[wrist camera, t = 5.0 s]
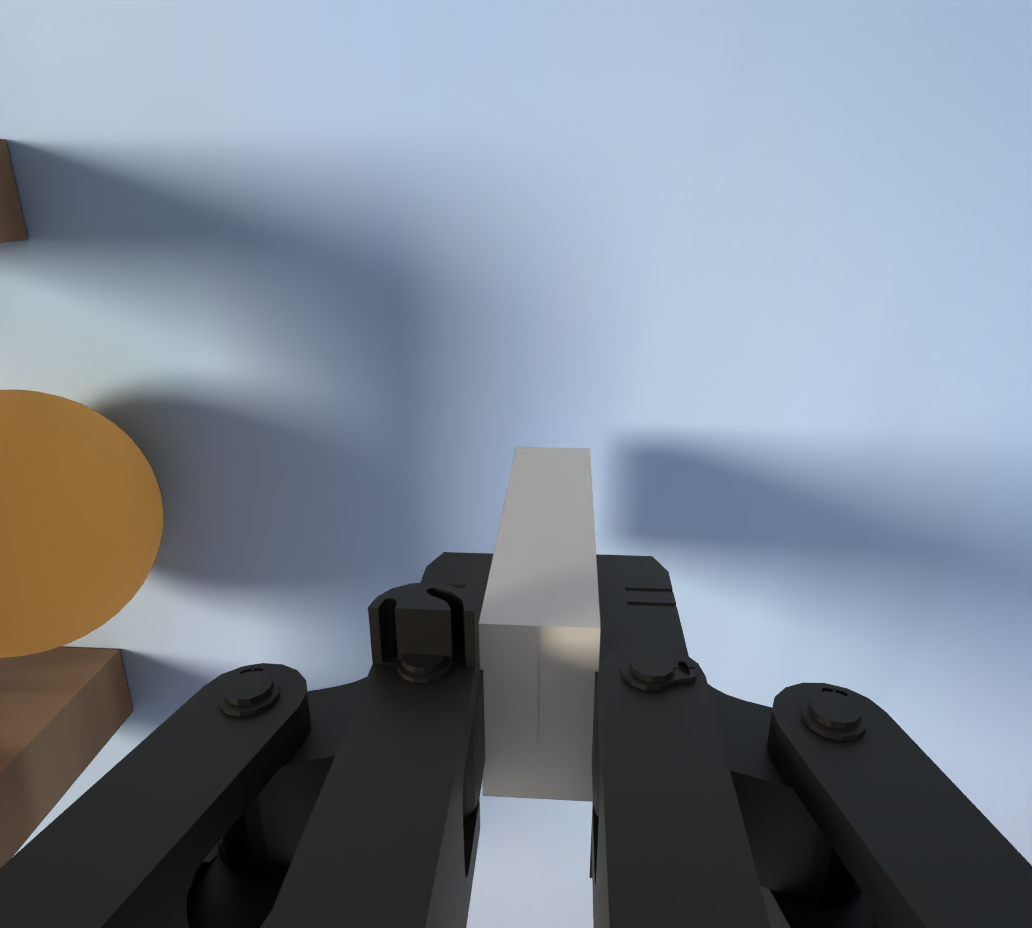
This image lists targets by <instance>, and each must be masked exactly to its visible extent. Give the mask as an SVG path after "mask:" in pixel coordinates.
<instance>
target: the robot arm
mask: <svg viewBox="0 0 1032 928" xmlns="http://www.w3.org/2000/svg"><path fill="white" fill-rule="evenodd" d="M368 612H369V624H370V636H371V648H372V660H373V664H372V667H371V669H370V672H369V674H368V677H366V678H363V679H361V680H358V681H356V682H353V683H349V684H345V685H341V686H336V687H331V688H325V689H319V690H313V691H307V684H306V680H305V679H304V677H303V676H302V675H301V674H300V673H299V672H298V671H297V670H295V669H292V668H290V667H287V666H285V665H281V664H266V663H262V664H254V665H248V666H243V667H240V668H237V669H235V670H232V671H229V672H227V673H224V674H221V675H220V676H218V677H217V678H215V679H214V680H213V681H211V682H210V683H208V684H207V685H205V686H204V687H203V688H202V689H200V690H199V691H198V692H197V693H196V694H195V695H194V696H193V697H191V698H190V699H189V700H188V701H187V702H186V703H185V704H184V705H183V706H181V707H180V708H179V709H178V710H177V711H176V712H175V713H174V714H172V715H171V716H170V717H169V718H168V719H167V720H166V721H165V722H164V723H162V724H161V725H160V726H159V727H158V728H157V729H156V730H155V731H153V732H152V733H151V734H150V735H149V736H148V737H147V738H146V739H144V740H143V741H142V742H141V743H140V744H139V745H138V746H137V747H136V748H134V749H133V750H132V751H131V752H130V753H129V754H128V755H127V756H125V757H124V758H123V759H122V760H121V761H120V762H119V763H118V764H116V765H115V766H114V767H113V768H112V769H111V770H110V771H109V772H108V773H106V774H105V775H104V776H103V777H102V778H101V779H100V780H99V781H97V782H96V783H95V784H94V785H93V786H92V787H91V788H90V789H89V790H87V791H86V792H85V793H84V794H83V795H82V796H81V797H80V798H78V799H77V800H76V801H75V802H74V803H73V804H72V805H71V806H69V807H68V808H67V809H66V810H65V811H64V812H63V813H62V814H61V815H59V816H58V817H57V818H56V819H55V820H54V821H53V822H52V823H50V824H49V825H48V826H47V827H46V828H45V829H44V830H43V831H41V832H40V833H39V834H38V835H37V836H36V837H35V838H34V839H33V840H31V841H30V842H29V843H28V844H27V845H26V846H25V847H24V848H22V849H21V850H20V851H19V852H18V853H17V854H16V855H15V856H14V857H12V858H11V859H10V860H9V861H8V862H7V863H6V864H5V865H3V866H2V867H1V868H0V928H466V925H467V918H468V911H469V903H470V896H471V889H472V882H473V875H474V868H475V861H476V854H477V847H478V839H479V832H480V803H479V797H480V790H481V784H482V777H483V796H497V797H516V798H536V799H555V800H574V801H593V809H592V833H591V857H590V878H593V918H594V928H1032V866H1031V864H1030V863H1029V862H1028V861H1027V860H1026V859H1025V858H1024V857H1023V856H1022V855H1021V854H1020V853H1019V852H1018V851H1017V850H1016V849H1015V848H1014V847H1013V845H1012V844H1011V843H1010V842H1009V841H1008V840H1007V839H1006V838H1005V837H1004V836H1003V835H1002V834H1001V833H1000V832H999V831H998V830H997V829H996V828H995V827H994V825H993V824H992V823H991V822H990V821H989V820H988V819H987V818H986V817H985V816H984V815H983V814H982V813H981V812H980V811H979V810H978V809H977V808H976V806H975V805H974V804H973V803H972V802H971V801H970V800H969V799H968V798H967V797H966V796H965V795H964V794H963V793H962V792H961V791H960V790H959V789H958V787H957V786H956V785H955V784H954V783H953V782H952V781H951V780H950V779H949V778H948V777H947V776H946V775H945V774H944V773H943V772H942V771H941V770H940V768H939V767H938V766H937V765H936V764H935V763H934V762H933V761H932V760H931V759H930V758H929V757H928V756H927V755H926V754H925V753H924V752H923V751H922V749H921V748H920V747H919V746H918V745H917V744H916V743H915V742H914V741H913V740H912V739H911V738H910V737H909V736H908V735H907V734H906V733H905V732H904V731H903V729H902V728H901V727H900V726H899V725H898V724H897V723H896V722H895V721H894V720H893V719H892V718H891V717H890V716H889V715H888V714H887V713H886V712H885V711H884V710H883V709H881V708H880V707H879V706H878V705H876V704H875V703H874V702H873V701H871V700H870V699H869V698H867V697H864V696H862V695H860V694H858V693H856V692H854V691H852V690H849V689H847V688H843V687H839V686H834V685H830V684H826V683H800V684H797V685H793V686H790V687H786V688H785V689H783V690H782V691H781V692H780V693H779V694H778V695H777V696H775V698H774V703H773V708H771V707H767V706H763V705H759V704H755V703H751V702H748V701H744V700H741V699H738V698H735V697H732V696H729V695H726V694H724V693H722V692H721V691H719V690H717V689H715V688H713V687H712V686H710V685H709V684H707V680H706V676H705V675H704V673H703V671H702V669H701V668H700V666H699V664H698V663H696V662H695V661H694V660H693V659H691V658H690V657H689V656H688V652H687V647H686V643H685V639H684V635H683V631H682V627H681V623H680V618H679V614H678V610H677V607H676V602H675V598H674V593H673V592H672V585H671V581H670V577H669V573H668V571H667V570H666V569H665V568H664V567H663V566H662V565H661V564H660V563H659V562H658V561H657V560H656V559H654V558H653V557H652V556H626V555H596V544H595V528H594V511H593V494H592V477H591V460H590V449H579V448H530V447H516V451H515V456H514V461H513V465H512V470H511V475H510V479H509V484H508V489H507V493H506V498H505V503H504V508H503V512H502V517H501V522H500V526H499V531H498V536H497V540H496V545H495V550H494V554H485V553H452V552H444V553H443V554H441V555H440V556H439V557H438V558H436V559H435V560H434V561H433V562H432V563H430V564H429V565H428V566H427V567H426V570H425V572H424V575H423V577H422V580H421V583H414V584H408V585H404V586H400V587H396V588H393V589H391V590H389V591H387V592H385V593H383V594H381V595H380V596H378V597H377V598H376V599H375V600H374V601H373V602H372V603H371V605H370V606H369V607H368Z"/></svg>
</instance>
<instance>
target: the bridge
mask: <svg viewBox="0 0 1032 928" xmlns="http://www.w3.org/2000/svg"><path fill="white" fill-rule="evenodd" d="M19 240H28V236H27V232H26V227H25V223H24V219H23V214H22V210H21V205H20V201H19V196H18V192H17V187H16V183H15V178H14V174H13V169H12V165H11V160H10V156H9V151H8V147H7V142H6V139H0V243H1V242H10V241H19ZM132 712H133V707H132V703H131V698H130V694H129V689H128V685H127V680H126V676H125V671H124V667H123V663H122V658H121V654H120V649H97V648H72V647H57V648H54V649H51V650H47V651H44V652H40V653H35V654H30V655H25V656H17V657H4V658H0V868H1V867H2V866H3V865H5V864H6V863H7V862H8V861H9V860H10V859H11V858H12V857H13V856H14V854H15V853H16V852H17V851H18V850H19V848H20V847H21V846H22V845H23V844H24V842H25V841H26V840H27V839H28V838H29V836H30V835H31V834H32V833H33V832H34V830H35V829H36V828H37V827H38V825H39V824H40V823H41V822H42V821H43V819H44V818H45V817H46V816H47V815H48V813H49V812H50V811H51V810H52V809H53V807H54V806H55V805H56V804H57V803H58V801H59V800H60V799H61V798H62V796H63V795H64V794H65V793H66V792H67V790H68V789H69V788H70V787H71V786H72V784H73V783H74V782H75V781H76V780H77V778H78V777H79V776H80V775H81V774H82V772H83V771H84V770H85V769H86V767H87V766H88V765H89V764H90V763H91V761H92V760H93V759H94V758H95V757H96V755H97V754H98V753H99V752H100V751H101V749H102V748H103V747H104V746H105V745H106V743H107V742H108V741H109V740H110V738H111V737H112V736H113V735H114V734H115V732H116V731H117V730H118V729H119V728H120V726H121V725H122V724H123V723H124V722H125V720H126V719H127V718H128V717H129V716H130V714H131V713H132Z"/></svg>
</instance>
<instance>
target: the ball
mask: <svg viewBox="0 0 1032 928" xmlns="http://www.w3.org/2000/svg"><path fill="white" fill-rule="evenodd" d="M162 532H163V504H162V498H161V492H160V488H159V485H158V482H157V480H156V477H155V475H154V472H153V470H152V468H151V466H150V464H149V462H148V461H147V459H146V457H145V456H144V454H143V453H142V451H141V450H140V449H139V447H138V446H137V445H136V444H135V443H134V441H133V440H132V439H131V438H130V437H129V436H128V435H127V434H126V433H125V432H124V431H123V430H122V429H120V428H119V427H118V426H117V425H116V424H115V423H113V422H112V421H110V420H109V419H107V418H106V417H104V416H103V415H101V414H100V413H98V412H96V411H94V410H92V409H90V408H88V407H86V406H84V405H82V404H80V403H78V402H75V401H72V400H69V399H66V398H64V397H59V396H55V395H51V394H46V393H42V392H36V391H27V390H0V658H4V657H17V656H25V655H30V654H35V653H40V652H44V651H47V650H51V649H54V648H57V647H60V646H63V645H66V644H68V643H71V642H73V641H75V640H77V639H79V638H82V637H84V636H85V635H87V634H89V633H90V632H92V631H94V630H95V629H97V628H99V627H100V626H102V625H103V624H105V623H106V622H107V621H108V620H110V619H111V618H112V617H113V616H115V615H116V614H117V613H118V612H119V611H120V610H121V609H122V608H123V607H124V606H125V605H126V604H127V603H128V602H129V601H130V600H131V599H132V598H133V597H134V595H135V594H136V593H137V591H138V590H139V589H140V587H141V586H142V585H143V583H144V581H145V580H146V578H147V576H148V574H149V572H150V571H151V569H152V567H153V564H154V562H155V559H156V556H157V554H158V551H159V547H160V543H161V537H162Z"/></svg>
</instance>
